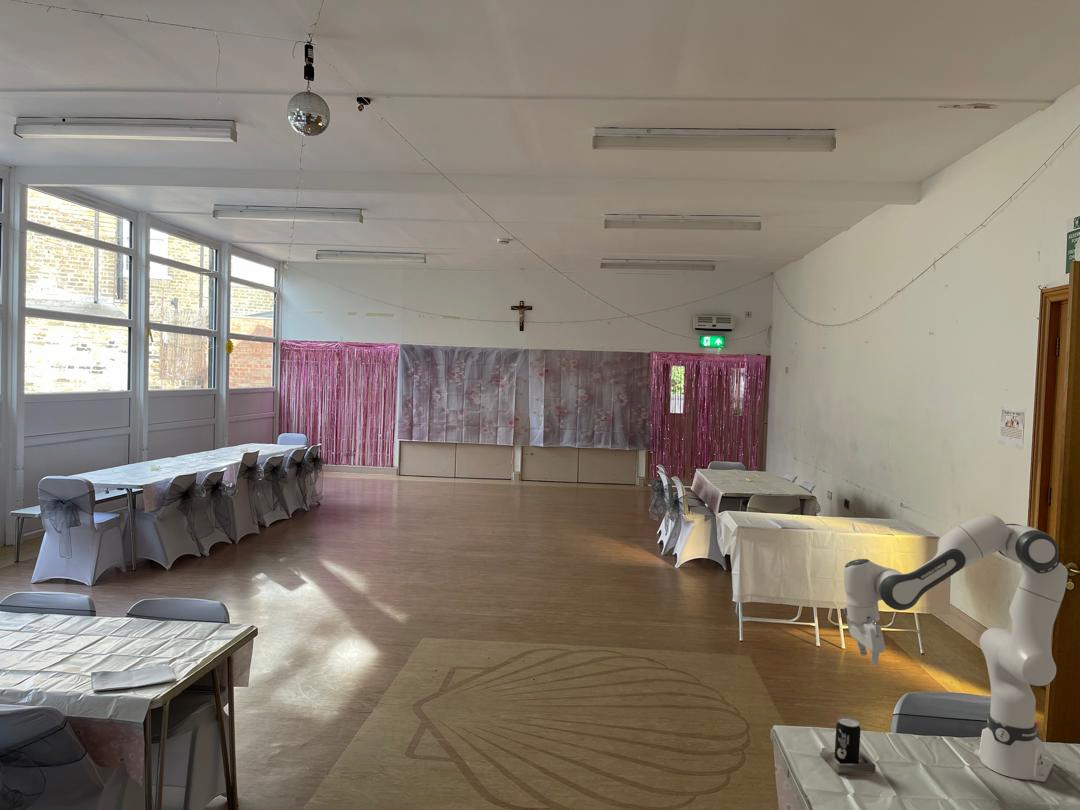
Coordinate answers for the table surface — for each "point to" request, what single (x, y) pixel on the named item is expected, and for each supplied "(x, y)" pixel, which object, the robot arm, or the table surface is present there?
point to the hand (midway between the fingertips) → (869, 659)
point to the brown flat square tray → (861, 768)
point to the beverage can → (847, 741)
